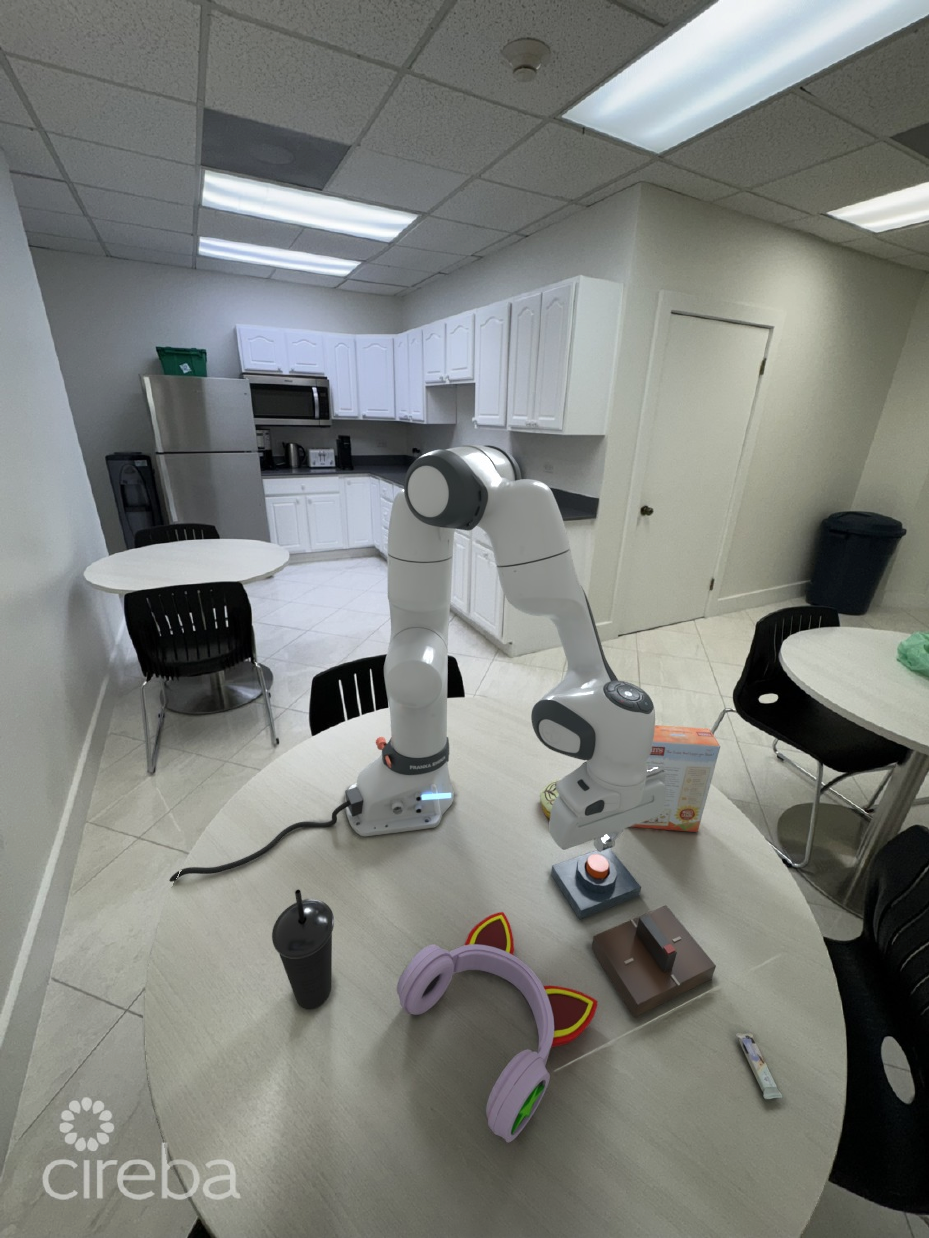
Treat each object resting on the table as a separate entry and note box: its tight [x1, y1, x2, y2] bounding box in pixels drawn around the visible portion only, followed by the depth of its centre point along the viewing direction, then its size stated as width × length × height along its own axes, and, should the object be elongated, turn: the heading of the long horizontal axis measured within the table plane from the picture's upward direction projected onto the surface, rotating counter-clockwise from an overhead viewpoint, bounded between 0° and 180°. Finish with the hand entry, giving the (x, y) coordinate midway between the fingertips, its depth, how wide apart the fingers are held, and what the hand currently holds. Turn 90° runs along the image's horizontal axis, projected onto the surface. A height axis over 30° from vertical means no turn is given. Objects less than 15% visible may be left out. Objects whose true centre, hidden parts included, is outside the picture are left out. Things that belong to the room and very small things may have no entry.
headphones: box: [396, 911, 599, 1143], centre depth 65 cm, size 20×10×20 cm
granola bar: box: [735, 1032, 784, 1100], centre depth 62 cm, size 7×2×1 cm, turn 2°
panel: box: [590, 905, 717, 1018], centre depth 73 cm, size 14×10×3 cm
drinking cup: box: [271, 888, 335, 1011], centre depth 65 cm, size 8×8×20 cm
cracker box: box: [630, 724, 721, 833], centre depth 95 cm, size 14×6×21 cm, turn 84°
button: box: [586, 854, 609, 879], centre depth 83 cm, size 4×4×2 cm
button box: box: [550, 848, 642, 920], centre depth 84 cm, size 12×9×4 cm
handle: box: [636, 913, 677, 972], centre depth 71 cm, size 6×2×4 cm, turn 22°
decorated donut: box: [539, 778, 561, 819], centre depth 101 cm, size 10×11×4 cm
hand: (603, 846), depth 81 cm, fingers closed
